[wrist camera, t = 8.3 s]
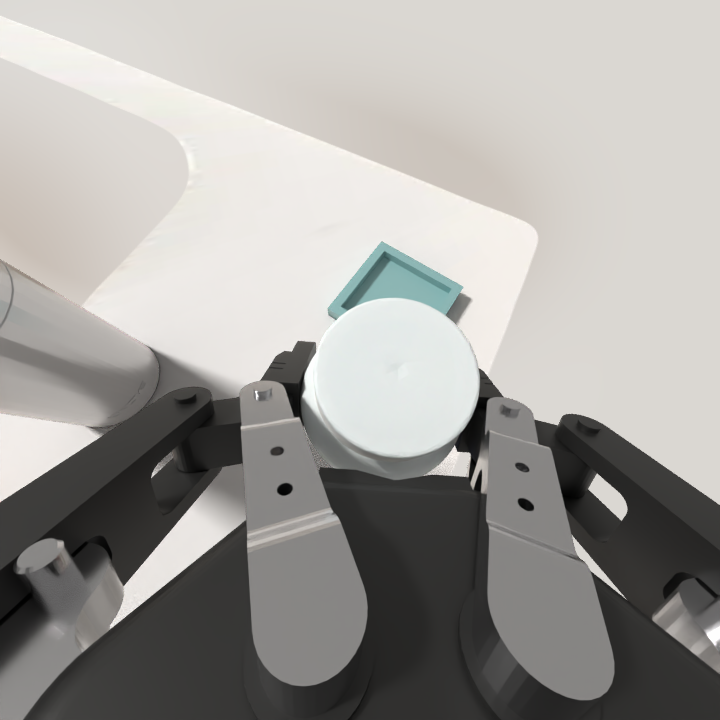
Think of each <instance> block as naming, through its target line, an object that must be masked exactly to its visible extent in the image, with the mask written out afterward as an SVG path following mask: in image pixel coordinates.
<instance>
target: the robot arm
mask: <svg viewBox="0 0 720 720" xmlns="http://www.w3.org/2000/svg"><path fill="white" fill-rule="evenodd" d="M315 354H316V343H315V342H305V341H298V342H297V343H296V345H295V347H294V349H293V351H292V352H289V351H284V352H282V353H281V354H279V355H277V356H276V357H275V359H274V360H273V362H272V363H271V365H270V366H269V368H268V370H267V371H266V373H265V374H264V376H263V377H262V379H261V380H260V381H257V382H253V383H250V384H248V385H246V386H245V387H243V388H242V389H241V391H240V397H237V398H232V399H224V400H216V401H213V399H212V394H211V392H210V391H209V390H207V389H205V388H201V387H188V388H182V389H178V390H175V391H172V392H170V393H168V394H166V395H165V396H163V397H162V398H160V399H159V400H157V401H156V402H154V403H153V404H151V405H149V406H148V407H146V408H145V409H143V410H142V411H140V410H141V409H142V408H143V407H144V406H145V405H146V404H147V402H148V401H149V400H150V398H151V397H152V395H153V393H154V391H155V389H156V387H157V383H158V380H159V365H158V361H157V359H156V356H155V354H154V353H153V352H152V351H151V349H150V348H149V347H147V346H146V345H144V344H143V343H141V342H140V341H138V340H136V339H134V338H133V337H131V336H129V335H128V334H126V333H124V332H123V331H121V330H119V329H118V328H116V327H114V326H113V325H111V324H109V323H108V322H106V321H104V320H103V319H101V318H99V317H98V316H96V315H94V314H92V313H91V312H89V311H87V310H86V309H84V308H82V307H81V306H79V305H77V304H75V303H73V302H72V301H70V300H69V299H67V298H65V297H64V296H62V295H60V294H58V293H57V292H55V291H53V290H52V289H50V288H48V287H46V286H45V285H43V284H41V283H40V282H38V281H36V280H35V279H33V278H31V277H30V276H28V275H26V274H24V273H23V272H21V271H19V270H18V269H16V268H14V267H12V266H11V265H9V264H8V263H6V262H4V261H2V260H1V259H0V413H1V414H8V415H15V416H22V417H29V418H35V419H42V420H49V421H55V422H62V423H69V424H76V425H83V426H90V427H107V426H111V425H116V424H118V423H120V422H123V421H125V420H126V421H125V422H123V423H122V424H120V425H119V426H117V427H116V428H114V429H112V430H111V431H109V432H108V433H106V434H105V435H103V436H102V437H100V438H99V439H97V440H96V441H94V442H92V443H91V444H89V445H88V446H86V447H85V448H83V449H82V450H80V451H79V452H77V453H76V454H74V455H72V456H71V457H69V458H68V459H66V460H65V461H63V462H62V463H60V464H59V465H57V466H56V467H54V468H52V469H51V470H49V471H48V472H46V473H45V474H43V475H42V476H40V477H39V478H37V479H36V480H34V481H32V482H31V483H29V484H28V485H26V486H25V487H23V488H22V489H20V490H19V491H17V492H16V493H14V494H12V495H11V496H9V497H8V498H6V499H5V500H3V501H2V502H0V720H720V505H718V504H717V503H716V502H714V501H713V500H712V499H710V498H709V497H707V496H706V495H704V494H703V493H702V492H700V491H699V490H697V489H696V488H694V487H693V486H691V485H690V484H689V483H687V482H686V481H684V480H683V479H681V478H680V477H678V476H677V475H676V474H674V473H673V472H671V471H670V470H668V469H667V468H665V467H664V466H663V465H661V464H660V463H658V462H657V461H655V460H654V459H652V458H651V457H650V456H648V455H647V454H645V453H644V452H642V451H641V450H640V449H638V448H637V447H635V446H634V445H632V444H631V443H629V442H628V441H626V440H625V439H624V438H622V437H621V436H619V435H618V434H616V433H615V432H614V431H612V430H610V429H609V428H608V427H606V426H605V425H603V424H601V423H599V422H598V421H596V420H593V419H591V418H588V417H585V416H581V415H577V414H566V415H564V416H562V418H561V420H560V422H559V425H558V426H557V425H554V424H550V423H546V422H541V421H538V420H534V417H533V413H532V411H531V410H530V409H529V408H528V407H527V406H525V405H524V404H522V403H520V402H518V401H515V400H513V399H509V398H504V397H503V396H502V394H501V393H500V392H499V390H498V389H497V388H496V387H495V385H493V383H492V381H491V380H490V379H489V378H488V376H487V375H486V374H485V373H484V371H482V370H481V369H479V374H480V390H479V396H478V400H477V404H476V408H475V410H474V412H473V415H472V417H471V419H470V421H469V422H468V424H467V426H466V427H465V428H464V430H463V431H462V432H461V433H460V435H459V437H458V439H457V441H456V443H455V447H456V449H457V452H469V453H470V454H471V456H470V460H469V463H468V468H467V476H466V477H459V476H443V475H427V476H420V477H414V478H408V479H401V480H392V479H388V478H385V477H381V476H377V475H374V474H370V473H366V472H363V471H359V470H351V469H336V468H321V467H320V470H319V472H318V469H317V466H316V463H315V460H314V458H313V455H312V452H311V449H310V446H309V443H308V440H307V437H306V434H305V432H304V429H303V426H304V423H303V419H302V415H301V405H300V396H301V388H302V382H303V379H304V375H305V372H306V370H307V368H308V366H309V364H310V362H311V360H312V358H313V357H314V355H315ZM139 411H140V412H139ZM137 412H139V413H137ZM136 413H137V414H136ZM135 414H136V415H135ZM133 415H134V416H133ZM132 416H133V417H132ZM130 417H131V418H130ZM127 419H128V420H127ZM171 451H172V455H173V459H172V460H171V461H170V462H169V463H168V464H166V465H165V466H164V467H163V468H162V469H161V470H160V471H159V472H158V473H157V474H156V475H154V476H153V477H152V478H151V475H152V472H153V470H154V468H155V467H156V465H157V464H158V463H159V462H160V461H161V460H162V459H163V458H164V457H165V456H167V455H168V454H169V453H170V452H171ZM241 463H243V472H244V489H245V505H246V521H244V522H243V523H242V524H241V525H239V526H238V527H237V528H236V529H234V530H233V531H232V532H231V533H229V534H228V535H227V536H226V537H224V538H223V539H222V540H221V541H219V542H218V543H217V544H216V545H215V546H213V547H212V548H211V549H210V550H208V551H207V552H206V553H205V554H203V555H202V556H201V557H200V558H198V559H197V560H196V561H195V562H193V563H192V564H191V565H190V566H188V567H187V568H186V569H185V570H183V571H182V572H181V573H180V574H178V575H177V576H176V577H175V578H173V579H172V580H171V581H170V582H169V583H167V584H166V585H165V586H164V587H162V588H161V589H160V590H159V591H157V592H156V593H155V594H154V595H152V596H151V597H150V598H149V599H147V600H146V601H145V602H144V603H142V604H141V605H140V606H139V607H137V608H136V609H135V610H134V611H132V612H131V613H130V614H129V615H128V616H126V617H125V618H124V619H123V620H121V621H120V622H119V623H118V624H116V625H115V626H114V627H113V628H111V629H110V624H111V623H112V621H113V620H114V618H115V617H116V615H117V613H118V611H119V609H120V607H121V604H122V602H123V597H124V588H123V586H124V585H125V584H126V583H127V582H128V580H129V579H130V578H131V577H132V576H133V574H134V573H135V572H136V571H137V570H138V568H139V567H140V566H141V565H142V564H143V563H144V561H145V560H146V559H147V558H148V557H149V555H150V554H151V553H152V552H153V551H154V550H155V548H156V547H157V546H158V545H159V544H160V542H161V541H162V540H163V539H164V538H165V536H166V535H167V534H168V533H169V532H170V531H171V529H172V528H173V527H174V526H175V525H176V523H177V522H178V521H179V520H180V519H181V517H182V516H183V515H184V514H185V513H186V512H187V510H188V509H189V508H190V507H191V506H192V504H193V503H194V502H195V501H196V500H197V498H198V497H199V496H200V495H201V494H202V493H203V491H204V490H205V489H206V488H207V487H208V485H209V484H210V483H211V482H212V481H213V479H214V478H215V477H216V476H217V475H218V474H219V472H220V471H221V469H222V467H224V466H230V465H235V464H241ZM597 473H598V474H599V475H600V476H601V477H602V478H603V479H604V480H606V481H607V482H608V483H609V484H610V485H611V486H612V487H614V488H615V489H616V490H617V491H618V492H619V493H620V494H621V495H622V496H623V497H624V499H625V501H626V503H627V507H628V511H627V514H626V516H625V517H624V518H623V520H622V521H621V520H620V519H619V518H618V517H617V516H616V515H614V514H613V513H612V512H611V511H610V510H609V509H608V508H607V507H606V506H605V505H604V504H603V503H602V502H601V501H600V500H599V499H598V498H597V497H596V496H594V494H592V493H591V492H590V491H589V490H588V488H589V486H590V484H591V482H592V481H593V479H594V477H595V475H596V474H597ZM571 534H572V535H573V537H574V538H575V539H576V540H577V541H578V542H579V544H580V545H581V546H582V547H583V548H584V549H585V551H586V552H587V553H588V554H589V555H590V557H591V558H592V559H593V560H594V561H595V562H596V564H597V565H598V566H599V567H600V568H601V570H602V571H603V572H604V573H605V574H606V575H607V577H608V578H609V579H610V580H611V581H612V582H613V584H614V585H615V586H616V587H617V588H618V589H619V591H620V592H621V593H622V594H623V595H624V597H625V598H626V599H627V600H628V601H627V600H626V599H625V598H623V597H622V596H621V595H620V594H618V593H617V592H616V591H615V590H613V589H612V588H611V587H610V586H609V585H607V584H606V583H605V582H604V581H602V580H601V579H600V578H599V577H597V576H596V575H594V573H592V572H591V571H590V570H589V568H588V566H587V564H586V563H585V562H584V561H583V560H581V559H580V558H579V557H578V556H577V554H576V551H575V547H574V543H573V539H572V535H571ZM109 629H110V630H109Z"/></svg>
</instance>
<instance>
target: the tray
mask: <svg viewBox="0 0 720 720" xmlns="http://www.w3.org/2000/svg"><path fill="white" fill-rule="evenodd" d="M462 289H463V286H461V285H459V284H457V283H456V282H454V281H452V280H450V279H448V278H447V277H445V276H443V275H441V274H439V273H438V272H436V271H434V270H432V269H430V268H429V267H427V266H425V265H423V264H421V263H420V262H418V261H416V260H414V259H413V258H411V257H409V256H407V255H405V254H404V253H402V252H400V251H398V250H396V249H395V248H393V247H391V246H389V245H387V244H386V243H384V242H381V243H380V244H379V245H378V247H377V248H376V249H375V250H374V252H373V253H372V254H371V255H370V257H369V258H368V259H367V260H366V261H365V263H364V264H363V265H362V266H361V268H360V269H359V270H358V271H357V273H356V274H355V275H354V276H353V278H352V279H351V280H350V281H349V283H348V284H347V285H346V286H345V288H344V289H343V290H342V291H341V293H340V294H339V295H338V296H337V298H336V299H335V300H334V301H333V303H332V304H331V305H330V306H329V307H328V314H329V316H331V317H333V318H334V319H336V320H337V319H338V318H339V317H340V316H341V315H343V314H344V313H345V312H347V311H348V310H350V309H352V308H354V307H355V306H358V305H360V304H362V303H365V302H368V301H372V300H376V299H382V298H404V299H409V300H414V301H417V302H421V303H423V304H426V305H428V306H430V307H432V308H434V309H436V310H438V311H439V312H441V313H443V314H444V315H446V314H447V312H448V311H449V309H450V307H451V306H452V304H453V303H454V301H455V300H456V298H457V296H458V295H459V293H460V292H461V290H462Z"/></svg>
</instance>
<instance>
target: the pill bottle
mask: <svg viewBox="0 0 720 720" xmlns="http://www.w3.org/2000/svg"><path fill="white" fill-rule="evenodd" d="M479 390H480V374H479V368H478V363H477V360H476V356H475V354H474V351H473V349H472V347H471V344H470V343H469V341H468V340H467V338H466V337H465V336H464V334H463V332H462V331H461V330H460V329H459V327H458V326H457V325H456V324H455V323H454V322H453V321H451V320H450V319H449V318H448V317H447V316H445V315H444V314H443V313H441V312H439V311H438V310H436V309H434V308H432V307H430V306H428V305H426V304H423V303H421V302H417V301H414V300H409V299H404V298H382V299H376V300H372V301H368V302H365V303H362V304H360V305H358V306H355V307H354V308H352V309H350V310H348V311H347V312H345V313H344V314H343V315H341V316H340V317H339V318H338V319H337V320H336V321H335V322H334V323H333V324H332V325H331V326H330V327H329V329H328V330H327V331H326V333H325V334H324V336H323V338H322V340H321V342H320V344H319V346H318V349H317V352H316V354H315V355H314V357H313V358H312V360H311V362H310V364H309V366H308V368H307V370H306V372H305V375H304V379H303V382H302V388H301V396H300V405H301V415H302V419H303V423H304V427H305V430H306V432H307V434H308V437H309V439H310V441H311V442H312V444H313V446H314V447H315V449H316V450H317V452H318V453H319V455H320V456H321V457H322V458H323V459H324V460H325V461H326V462H327V463H328V464H329V465H330V466H331V467H333V468H336V469H351V470H359V471H363V472H366V473H370V474H374V475H377V476H381V477H385V478H388V479H392V480H401V479H408V478H414V477H420V476H423V475H425V474H427V473H428V472H430V471H431V470H432V469H434V468H435V467H436V466H438V465H439V464H440V463H441V462H442V461H443V460H444V459H445V458H446V457H447V455H448V454H449V453H450V451H451V450H452V448H453V447H454V445H455V443H456V441H457V439H458V437H459V435H460V433H461V432H462V431H463V430H464V428H465V427H466V426H467V424H468V422H469V421H470V419H471V417H472V415H473V412H474V410H475V408H476V404H477V400H478V396H479Z"/></svg>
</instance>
